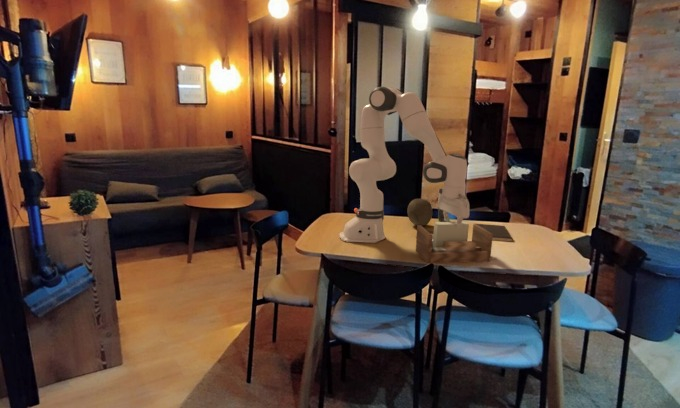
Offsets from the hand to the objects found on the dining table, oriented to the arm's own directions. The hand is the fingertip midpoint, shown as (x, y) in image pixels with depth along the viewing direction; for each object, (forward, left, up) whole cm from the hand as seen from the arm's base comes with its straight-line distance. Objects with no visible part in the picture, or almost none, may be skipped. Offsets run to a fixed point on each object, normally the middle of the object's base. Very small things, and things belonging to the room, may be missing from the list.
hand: (452, 223), depth 175 cm
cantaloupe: (+1, +45, -14) cm, 47 cm away
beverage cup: (+18, +54, -14) cm, 59 cm away
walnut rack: (0, -2, -14) cm, 14 cm away
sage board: (0, 0, -14) cm, 14 cm away
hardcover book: (+35, +28, -15) cm, 47 cm away
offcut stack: (0, -6, -14) cm, 15 cm away
